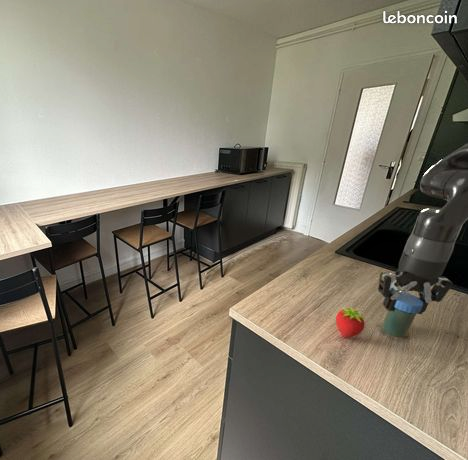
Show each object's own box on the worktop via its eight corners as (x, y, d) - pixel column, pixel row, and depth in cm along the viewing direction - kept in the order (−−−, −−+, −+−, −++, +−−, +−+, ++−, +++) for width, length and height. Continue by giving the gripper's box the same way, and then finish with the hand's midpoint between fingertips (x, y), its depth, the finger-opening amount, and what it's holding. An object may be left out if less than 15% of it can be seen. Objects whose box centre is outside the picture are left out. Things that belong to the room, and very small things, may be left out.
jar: (399, 325, 70) (411, 295, 66) (411, 339, 65) (425, 308, 61) (377, 322, 71) (389, 293, 67) (388, 336, 66) (400, 305, 62)
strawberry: (357, 331, 68) (367, 301, 64) (359, 351, 62) (371, 320, 58) (331, 324, 71) (339, 294, 67) (331, 342, 65) (340, 311, 61)
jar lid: (384, 296, 68) (387, 289, 67) (411, 300, 66) (414, 293, 66) (396, 311, 63) (399, 304, 62) (426, 315, 61) (429, 308, 60)
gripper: (450, 248, 61) (424, 304, 67) (381, 244, 64) (363, 298, 70) (478, 263, 54) (447, 324, 60) (399, 258, 57) (377, 316, 64)
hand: (402, 310), depth 65 cm, fingers closed on jar lid, 6 cm apart
